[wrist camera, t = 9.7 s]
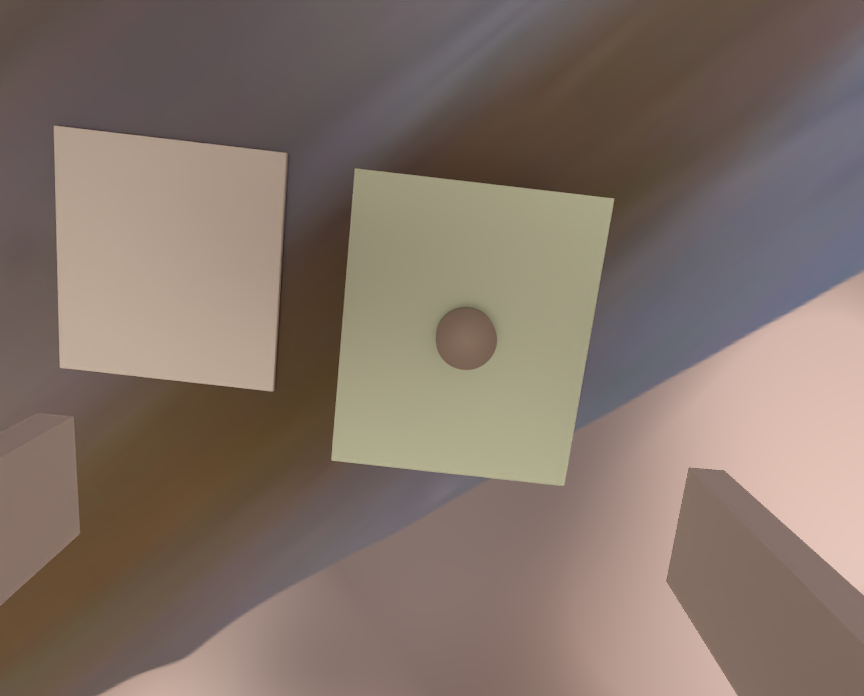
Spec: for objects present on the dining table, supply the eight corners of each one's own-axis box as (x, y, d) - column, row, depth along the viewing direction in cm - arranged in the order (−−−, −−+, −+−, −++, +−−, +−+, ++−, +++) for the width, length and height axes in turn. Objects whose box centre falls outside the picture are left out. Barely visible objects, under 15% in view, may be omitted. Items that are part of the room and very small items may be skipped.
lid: (367, 175, 26) (351, 166, 22) (588, 201, 27) (620, 197, 22) (345, 427, 29) (327, 468, 24) (547, 450, 29) (568, 494, 24)
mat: (58, 126, 33) (53, 125, 33) (288, 153, 33) (286, 152, 33) (63, 366, 36) (59, 367, 36) (274, 389, 36) (272, 391, 36)
